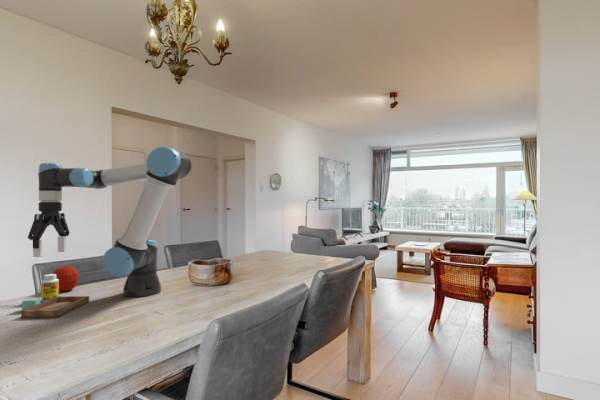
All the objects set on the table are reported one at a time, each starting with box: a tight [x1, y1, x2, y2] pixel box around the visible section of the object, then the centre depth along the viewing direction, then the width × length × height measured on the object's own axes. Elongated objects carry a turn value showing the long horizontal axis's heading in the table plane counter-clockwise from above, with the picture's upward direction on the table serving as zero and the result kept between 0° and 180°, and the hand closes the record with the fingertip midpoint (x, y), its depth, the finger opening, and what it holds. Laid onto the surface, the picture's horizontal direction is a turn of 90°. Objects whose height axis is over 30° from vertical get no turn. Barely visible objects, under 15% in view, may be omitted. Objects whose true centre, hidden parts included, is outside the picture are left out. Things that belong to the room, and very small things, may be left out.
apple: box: [52, 265, 80, 292], centre depth 150 cm, size 10×10×12 cm
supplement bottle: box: [40, 273, 60, 302], centre depth 136 cm, size 6×6×10 cm
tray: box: [20, 295, 90, 319], centre depth 123 cm, size 12×18×2 cm, turn 2°
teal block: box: [21, 297, 41, 311], centre depth 123 cm, size 4×4×4 cm
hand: (50, 254), depth 136 cm, fingers open, 13 cm apart
